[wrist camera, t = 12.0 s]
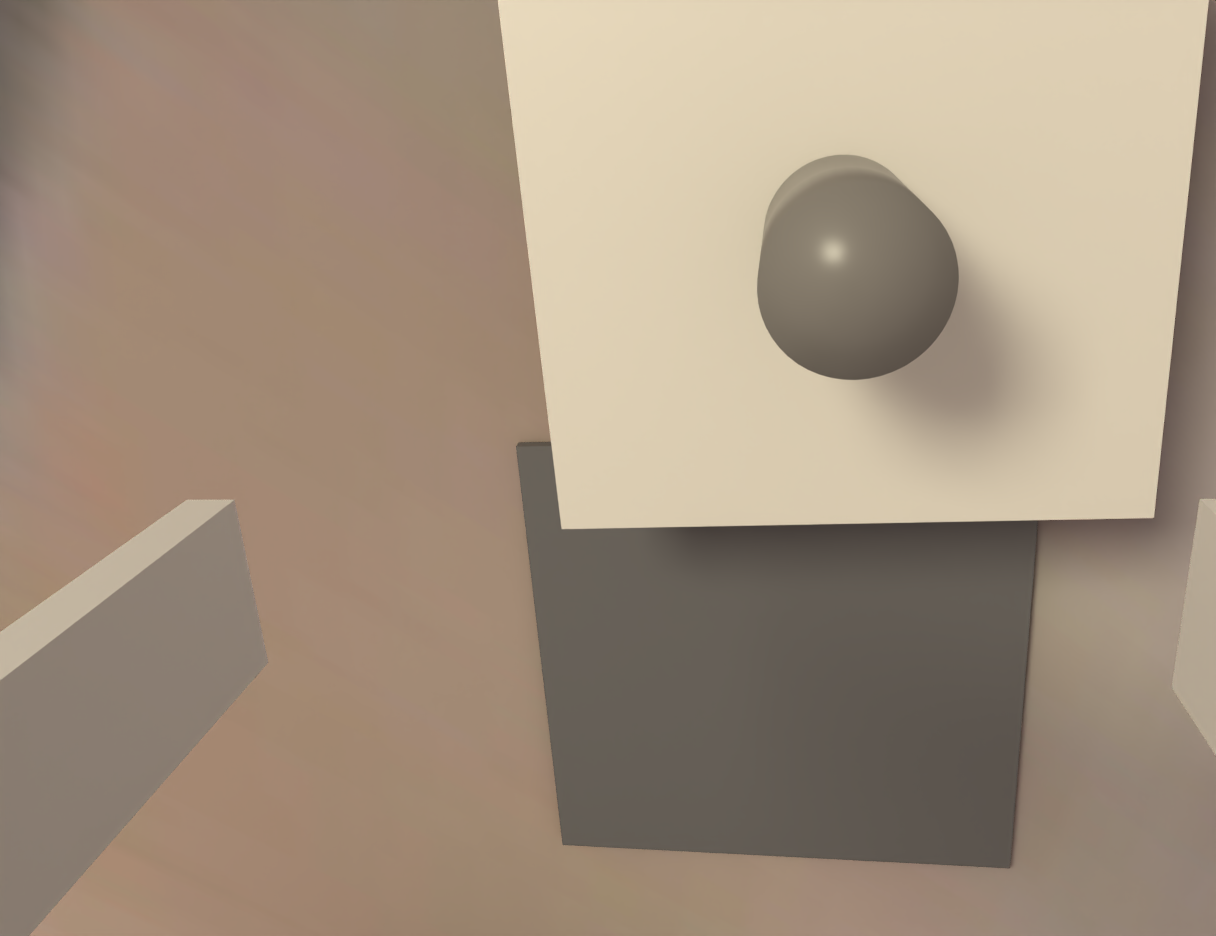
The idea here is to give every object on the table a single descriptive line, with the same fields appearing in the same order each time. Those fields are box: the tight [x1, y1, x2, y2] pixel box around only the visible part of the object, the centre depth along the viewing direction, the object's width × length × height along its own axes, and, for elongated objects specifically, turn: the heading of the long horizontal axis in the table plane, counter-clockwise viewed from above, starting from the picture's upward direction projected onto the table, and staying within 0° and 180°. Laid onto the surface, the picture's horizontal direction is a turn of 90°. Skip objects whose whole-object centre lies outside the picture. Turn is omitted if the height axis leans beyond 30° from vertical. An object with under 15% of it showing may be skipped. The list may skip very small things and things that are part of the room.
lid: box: [498, 0, 1209, 529], centre depth 27 cm, size 19×19×9 cm
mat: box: [516, 442, 1038, 868], centre depth 45 cm, size 21×21×1 cm
